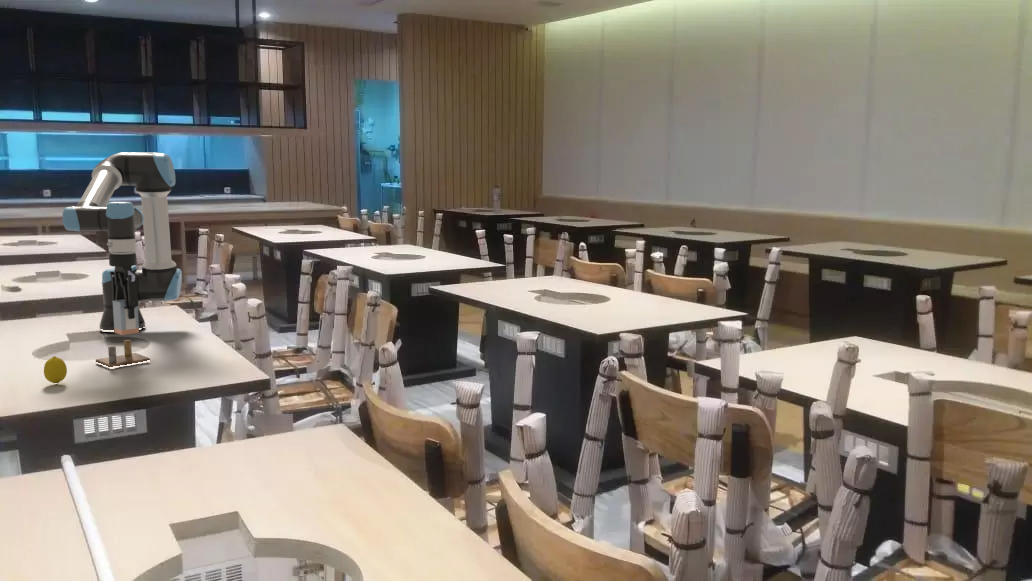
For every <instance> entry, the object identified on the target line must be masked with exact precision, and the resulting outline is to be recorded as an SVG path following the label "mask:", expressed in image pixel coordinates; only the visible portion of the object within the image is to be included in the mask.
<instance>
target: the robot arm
mask: <svg viewBox="0 0 1032 581" xmlns="http://www.w3.org/2000/svg"><path fill="white" fill-rule="evenodd" d="M175 185H176V171H175V167H174V162H173V161H172V158H171V157H170V155H169V154H167V153H164V152H163V153H162V152H154V151H153V152H129V151H125V152H124V151H122V152H117V153H114V154H112V155H108V156H107V157H105V158H104V159H102V160H101V161H100V162H98V164H96V165H95V167H94V169H93V170H92V172H91V180H90V182H89V184H88V185H87V187H86V188H85V191H84V193H83V195H82V196H81V197H80V200H79V201H78V203H77V204H76V206H74V205H72V206H67V207H65V208H63V210H62V224H63V227H64V229H65V230H67V231H70V232H73V231H74V232H79V233H80V232H107V243H106V246H108V252H109V255H108V263H109V265H108V266H111V268H107V269H105V270H103V271H102V274H101V278H102V279H101V284H102V285H101V287H102V299H103V300H102V302H103V312H102V315H101V319H100V322H99V330H100V329H103V330H114V316H113V301H114V300H123V299H125V303H126V307H124V309H125V323H126V330H129V329H136V322H135V308H136V307H137V306H138V323H139V328H143V327H145V328H146V322H145V318H144V317H143V314H142V312H141V309H140V304H139V303H140V302H167V301H175V300H177V299H178V298H179V296H180V294H181V289H182V282H183V272H182V269H180V268H177V263H176V262H175V261H174V260H172V250H171V249H172V248H171V247H172V246H171V232H170V219H169V218H170V217H169V205H168V204H169V202H168V195H169V194H170V192H171V191H172V187H174V186H175ZM121 186H135V192H136V193H137V194H138V195H139V196H140V201H141V210H140V209H139V208H138V207H135V206H134V203H133V202H131V201H110V199H111V197H112V196H113V194H114V192H115V191H116V190H117V189H119V188H120V187H121ZM141 226H143V227H142V228H143V237H144V238H143V239H144V240H143V241H144V249H145V250H144V251H145V262H143V263H142V265H141V269H138V266H137V264H138V263H137V254H136V251H137V243H136V232H135V231H137V230H138V229H140V228H141Z"/></svg>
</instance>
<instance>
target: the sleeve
mask: <svg viewBox="0 0 1032 581" xmlns="http://www.w3.org/2000/svg"><path fill="white" fill-rule="evenodd" d="M124 307H126V303H125V299H123V300H114V301H113V316H114V333H113V334H117V335H121V336H125V335H131V334H139V333H140V331H139V323H138V306H137V307H136V308H135V322H136V329H129V330H126V323H125V309H124Z"/></svg>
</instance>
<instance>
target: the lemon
mask: <svg viewBox="0 0 1032 581" xmlns="http://www.w3.org/2000/svg"><path fill="white" fill-rule="evenodd" d="M67 373H68V369H67V364H66V362H65V361H64V359H62V358H60V357H57V356H55V355H54V356H52V357H50V358H49V359H47V360H46V361H45V362H44V366H43V374H44V377H45V379H46V380H47V381H48V382H50V383H53V384H54V383H58V384H60V382H62V381H63V380H65V378H66V376H67Z"/></svg>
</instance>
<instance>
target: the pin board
mask: <svg viewBox="0 0 1032 581" xmlns="http://www.w3.org/2000/svg"><path fill="white" fill-rule="evenodd" d="M123 346H124V349H123V351H124V354H121V355H117V349H116V348H117V347H116V346H115V345H112V346H108V347H107V349H108V351H107V352H108V356H107V357H101V358H96V359H95V363H96V362H98V363H101V364H103V365H106V366H108V367H113V366H120V365H127V364H132V363H138V362H143V361H147V360H150V361H151V358H150V357H149V356H148V357H147V356H145V355H142V354H139V353H137V352H132V351H133V350H132V340H131V339H126V340H125V339H124V340H123Z"/></svg>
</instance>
